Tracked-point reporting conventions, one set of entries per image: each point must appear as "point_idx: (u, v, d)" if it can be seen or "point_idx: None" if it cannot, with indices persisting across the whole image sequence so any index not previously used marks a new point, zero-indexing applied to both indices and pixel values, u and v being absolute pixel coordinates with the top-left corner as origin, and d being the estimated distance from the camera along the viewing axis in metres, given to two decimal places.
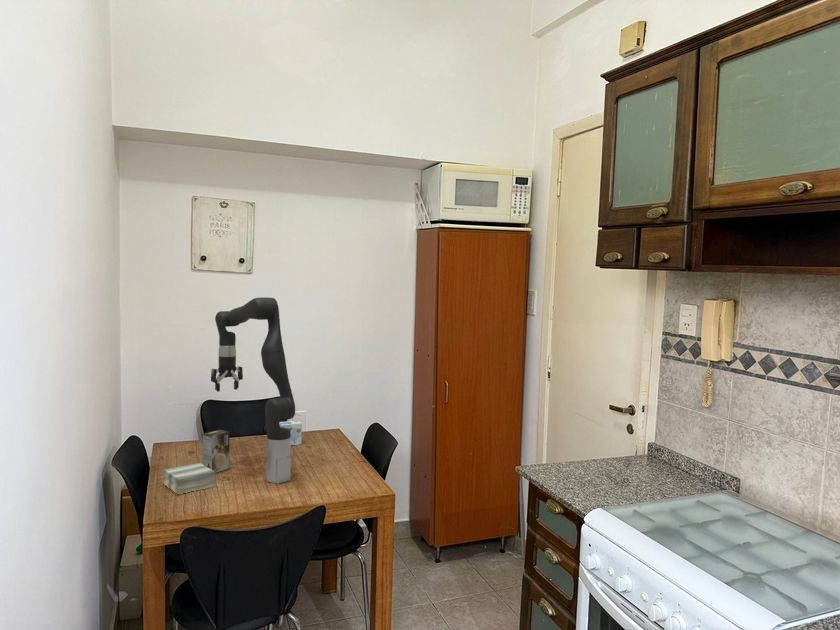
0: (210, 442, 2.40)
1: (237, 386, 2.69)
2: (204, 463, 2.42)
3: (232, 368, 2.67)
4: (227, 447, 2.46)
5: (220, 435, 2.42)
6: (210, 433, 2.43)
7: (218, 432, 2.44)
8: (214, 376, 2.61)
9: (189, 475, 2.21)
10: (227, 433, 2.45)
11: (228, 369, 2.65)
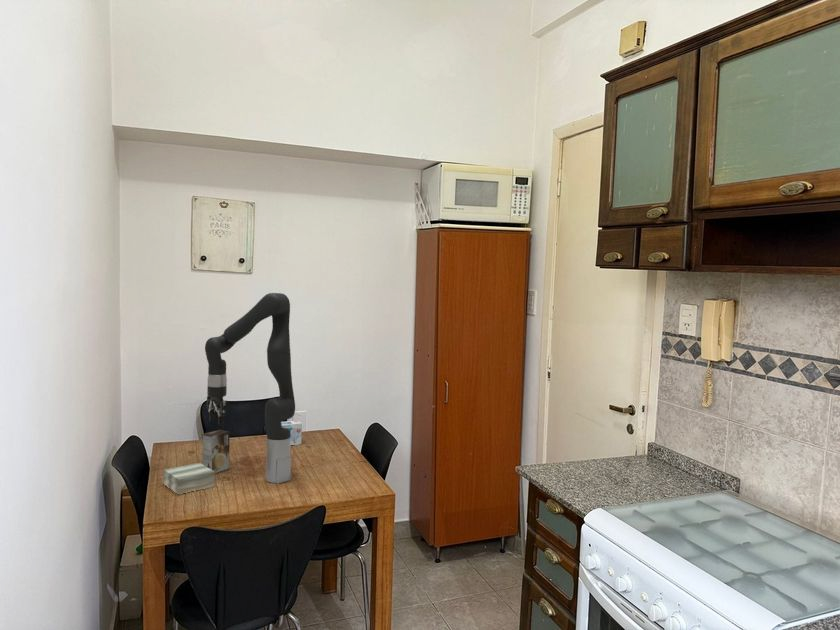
0: (210, 442, 2.40)
1: None
2: (204, 463, 2.42)
3: None
4: (227, 447, 2.46)
5: (220, 435, 2.42)
6: (210, 433, 2.43)
7: (218, 432, 2.44)
8: None
9: (189, 475, 2.21)
10: (227, 433, 2.45)
11: None
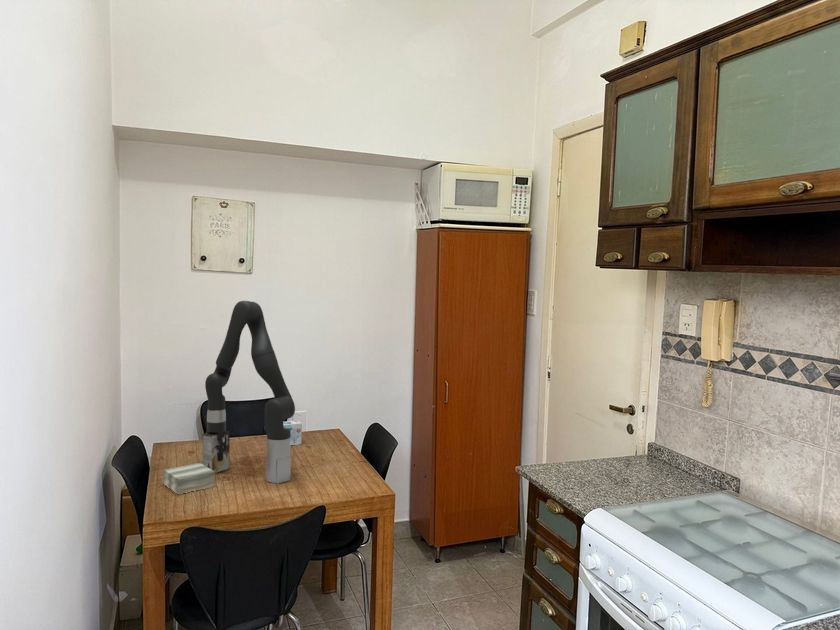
0: (210, 442, 2.40)
1: None
2: (204, 463, 2.42)
3: None
4: (227, 447, 2.46)
5: None
6: (210, 433, 2.43)
7: None
8: None
9: (189, 475, 2.21)
10: (227, 433, 2.45)
11: None
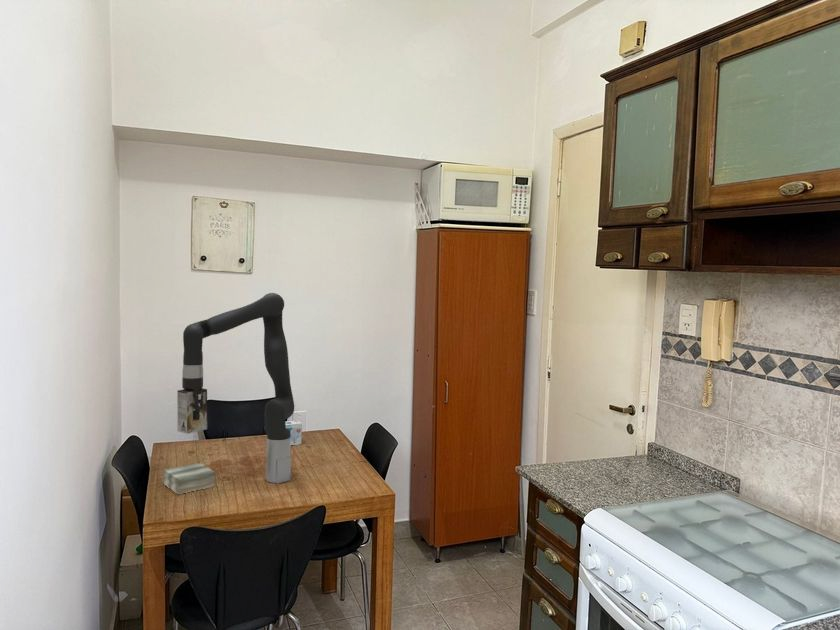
0: (185, 399, 2.22)
1: None
2: (179, 422, 2.24)
3: None
4: (204, 406, 2.28)
5: None
6: (186, 390, 2.25)
7: None
8: None
9: (189, 475, 2.21)
10: (204, 391, 2.27)
11: None
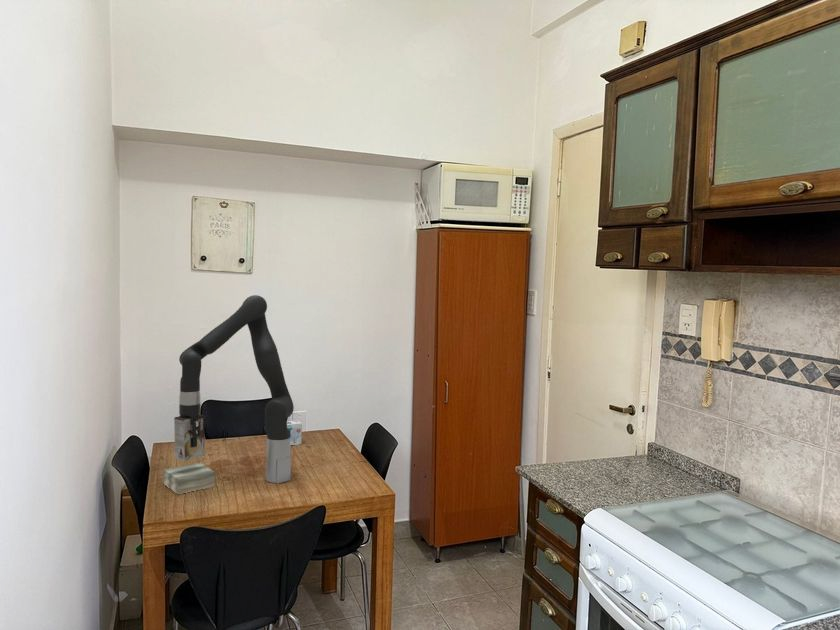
0: (182, 426, 2.20)
1: None
2: (176, 449, 2.23)
3: None
4: (202, 432, 2.26)
5: None
6: (183, 417, 2.23)
7: None
8: None
9: (189, 475, 2.21)
10: (202, 417, 2.26)
11: None
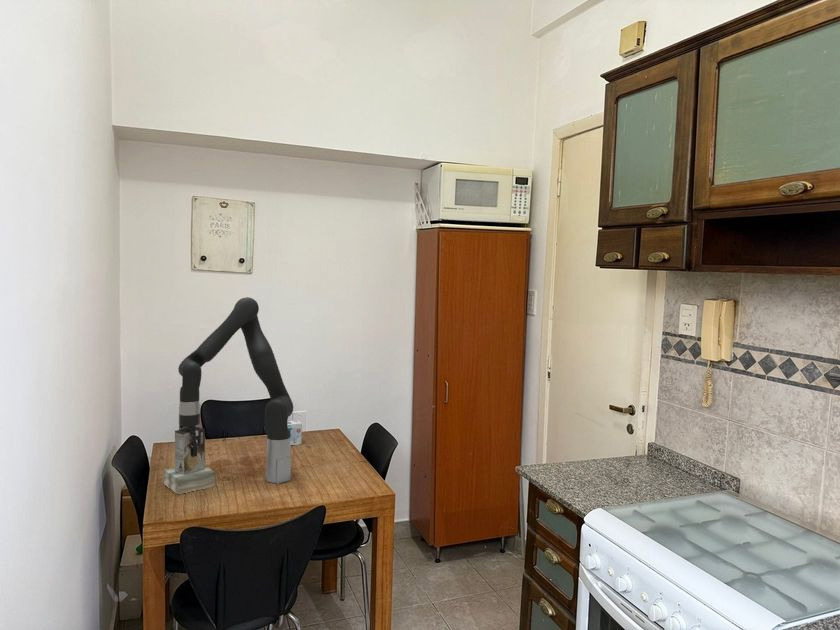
0: (182, 440, 2.20)
1: None
2: (176, 463, 2.23)
3: None
4: (202, 446, 2.26)
5: None
6: (183, 430, 2.23)
7: None
8: None
9: (189, 475, 2.21)
10: (202, 431, 2.26)
11: None
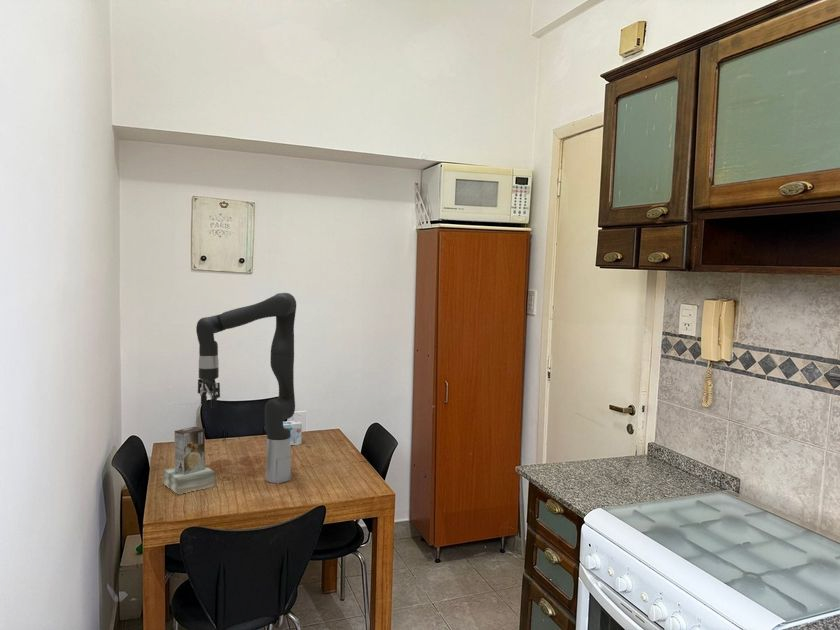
0: (182, 440, 2.20)
1: None
2: (176, 463, 2.23)
3: None
4: (202, 446, 2.26)
5: (193, 433, 2.23)
6: (183, 430, 2.23)
7: (192, 429, 2.25)
8: None
9: (189, 475, 2.21)
10: (202, 430, 2.26)
11: None
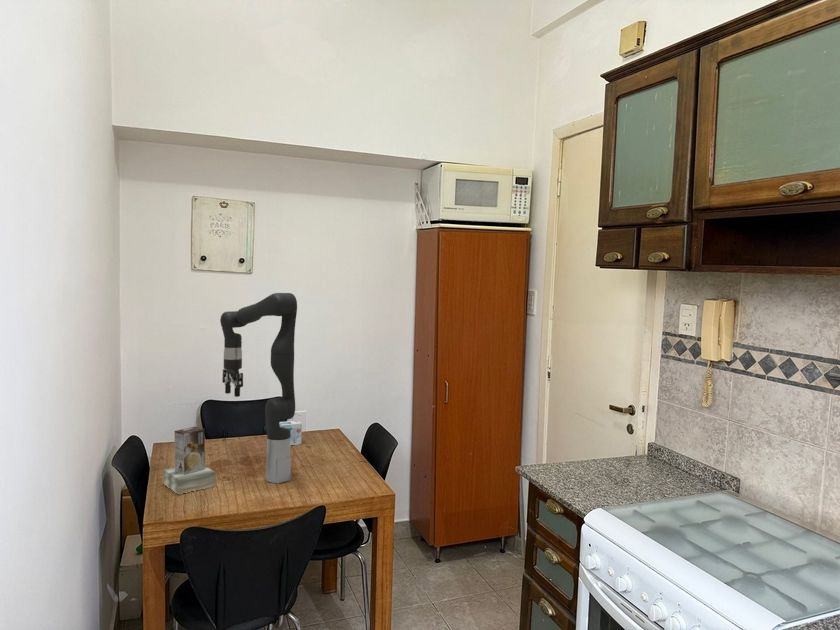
0: (182, 440, 2.20)
1: None
2: (176, 463, 2.23)
3: None
4: (202, 446, 2.26)
5: (193, 433, 2.23)
6: (183, 430, 2.23)
7: (192, 429, 2.25)
8: None
9: (189, 475, 2.21)
10: (202, 430, 2.26)
11: None
